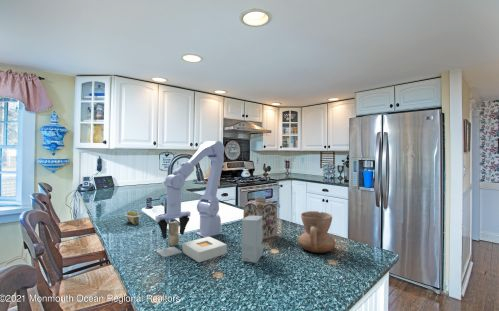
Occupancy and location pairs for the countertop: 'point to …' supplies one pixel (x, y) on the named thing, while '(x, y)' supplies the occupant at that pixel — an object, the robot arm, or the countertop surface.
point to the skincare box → (252, 238)
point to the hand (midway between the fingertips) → (173, 236)
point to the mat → (168, 251)
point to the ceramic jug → (316, 232)
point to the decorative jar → (263, 215)
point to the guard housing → (204, 249)
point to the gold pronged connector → (133, 217)
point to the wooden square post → (173, 233)
